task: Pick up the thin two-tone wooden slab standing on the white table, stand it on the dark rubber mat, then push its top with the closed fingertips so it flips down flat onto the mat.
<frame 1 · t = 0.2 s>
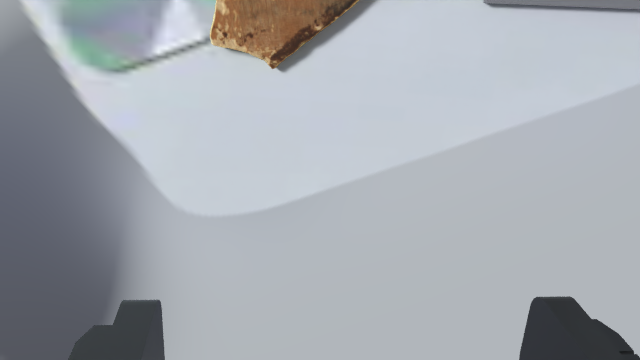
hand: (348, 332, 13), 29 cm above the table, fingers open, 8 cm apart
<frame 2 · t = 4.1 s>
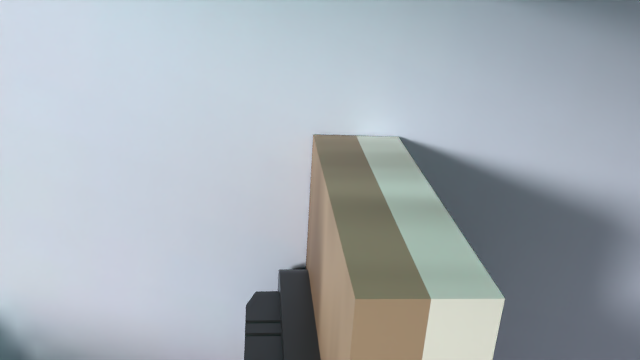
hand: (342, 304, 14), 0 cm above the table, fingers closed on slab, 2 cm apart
slab: (342, 297, 14), on the table, touching gripper
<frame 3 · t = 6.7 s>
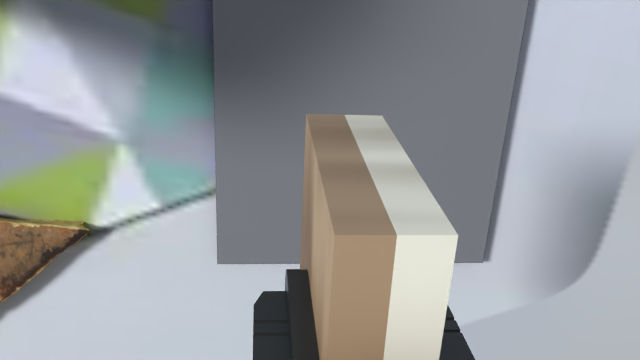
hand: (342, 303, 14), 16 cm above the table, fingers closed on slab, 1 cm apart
slab: (334, 262, 16), point 14 cm above the table, touching gripper
mat: (363, 112, 29), on the table
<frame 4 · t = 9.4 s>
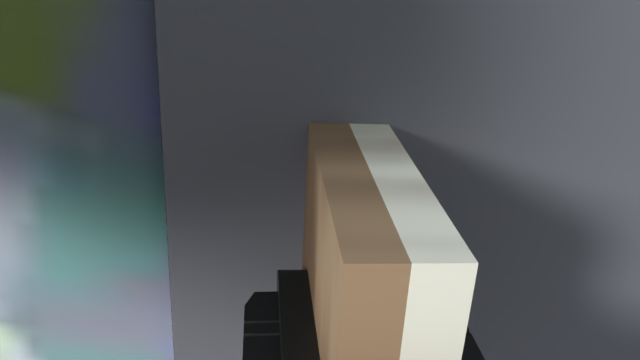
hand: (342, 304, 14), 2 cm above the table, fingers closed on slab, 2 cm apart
slab: (337, 277, 15), point 1 cm above the table, touching gripper, mat
mat: (445, 259, 16), on the table
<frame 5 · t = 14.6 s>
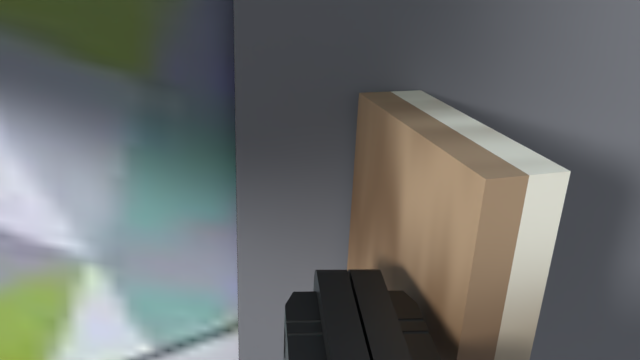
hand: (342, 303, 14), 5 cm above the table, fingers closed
slab: (378, 225, 17), point 1 cm above the table, tilted 13°, touching gripper, mat
mat: (466, 208, 18), on the table
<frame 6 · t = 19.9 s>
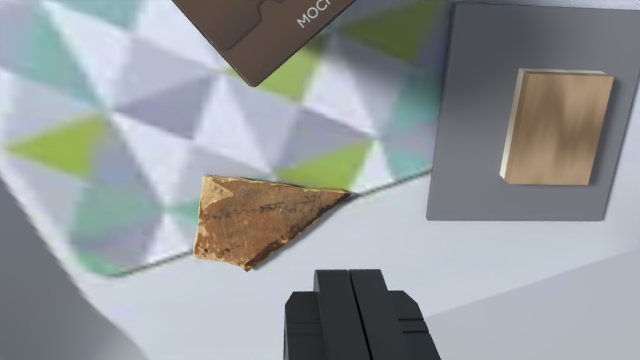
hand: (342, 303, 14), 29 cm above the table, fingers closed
shard: (255, 197, 45), on the table
slab: (513, 127, 42), point 1 cm above the table, tilted 90°, touching mat
mat: (531, 119, 44), on the table
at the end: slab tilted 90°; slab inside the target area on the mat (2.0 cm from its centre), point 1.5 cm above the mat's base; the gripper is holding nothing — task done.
